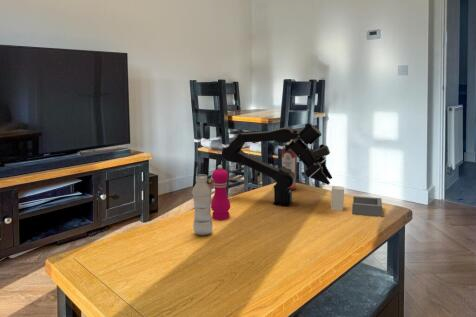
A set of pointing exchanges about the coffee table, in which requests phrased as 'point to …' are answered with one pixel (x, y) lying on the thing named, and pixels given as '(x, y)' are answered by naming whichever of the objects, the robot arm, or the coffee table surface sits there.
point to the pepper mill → (220, 195)
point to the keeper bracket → (367, 206)
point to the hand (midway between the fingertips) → (330, 181)
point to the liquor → (289, 162)
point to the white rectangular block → (337, 198)
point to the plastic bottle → (202, 206)
